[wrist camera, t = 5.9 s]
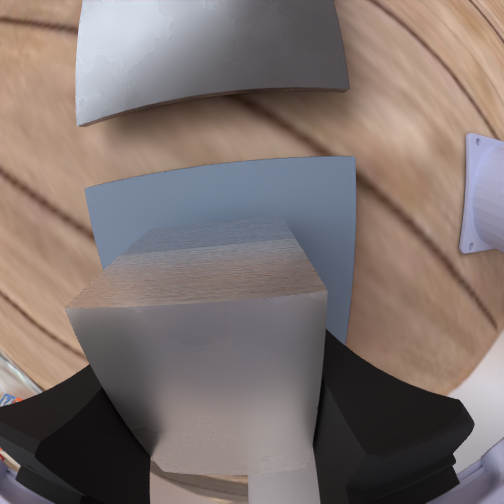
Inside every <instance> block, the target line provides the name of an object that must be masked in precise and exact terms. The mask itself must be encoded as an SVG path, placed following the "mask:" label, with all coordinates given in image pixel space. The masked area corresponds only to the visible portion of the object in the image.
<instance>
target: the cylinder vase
mask: <svg viewBox="0 0 504 504" xmlns="http://www.w3.org/2000/svg"><path fill="white" fill-rule="evenodd" d="M248 494H249V504H320V496H319V487H318V479H317V472H316V465H315V458H314V452H313V446H312V450H311V456H310V461H309V466H308V468H306V469H300V470H293V471H285V472H276V473H265V474H250V475H248Z"/></svg>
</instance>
